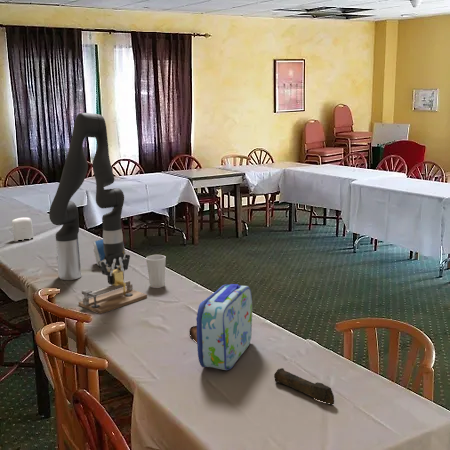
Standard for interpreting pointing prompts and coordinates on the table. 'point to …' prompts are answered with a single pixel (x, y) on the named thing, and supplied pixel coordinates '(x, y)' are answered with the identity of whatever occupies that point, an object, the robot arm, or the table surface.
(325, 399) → the hand tool
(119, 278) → the sliding block
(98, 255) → the blue piece
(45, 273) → the table surface
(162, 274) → the cup
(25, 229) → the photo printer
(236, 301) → the lunch box
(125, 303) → the board
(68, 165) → the robot arm
